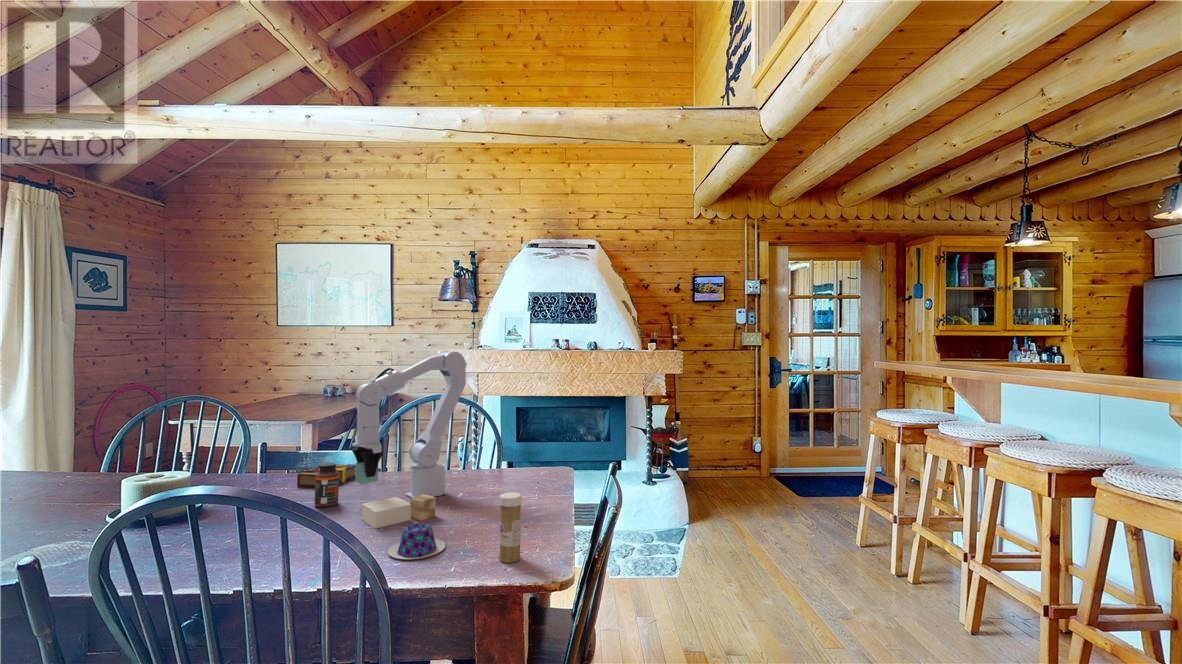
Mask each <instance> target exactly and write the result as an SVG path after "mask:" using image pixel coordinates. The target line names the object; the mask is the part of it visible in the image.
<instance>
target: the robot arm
mask: <svg viewBox="0 0 1182 664" xmlns="http://www.w3.org/2000/svg"><path fill="white" fill-rule="evenodd" d="M467 365H468V364H467V362H466V359H465V357H464V356H463V354H462V353H460V352H459V351H441V352H439V353H435V354H433V355H430V356H429V357H426V358H425V359H423V360H421V361H419V362H417V363H415V364H413V365H411V366H410V367H408V368H406V369H404V370H402V371H398V370H393V371H392V370H391V369H389V370H388V371H386V372H385V374H384V375H382V376H380V377H378V378H376V379H375V378H373V379H371V380H370V383H363V384H361V385H360V386H358V388H357V389H356V392H355V394H354V396H355V399H356V401H357V413H356V415H357V416H356V438H355V439H354V442H352V445H351V446H352V447H357V448H353V449H352V450H351V452H352V454H353V455H354V456H355V457H354V458H355V460H356V463H360V462H364V464H365V473H366V477H373V476H375V474H376V470H377V466H378V467H379V462H380V460H381V458H382V456H383V455H384V450H382V445H381V442H380V439H379V438H380V403H381V401H382V400H383V398H387V397H388V396H390V395H393V394H394V393H396V392H398V391H399V390H402V389H404V388H405V387H406V383H407V382H408V381H410V380H413V379H415V378H417V377H419V376H421V375H424V374H425V373H428V372H430V371H439V372H440V373H441V374H442V376H443V378H444V379H445V382H446V386H445V388H444V390H443V392H442V394H441V396H440V399H439V401H438V403H437V404H436V406H435V409H434V410H433V413H432V415H431V417H430V419H429V421H428V423H427V425H426V428H425V430H424V431H423V432H422V433H421V434H419V436H418V438H417V440H416V441H415V442H413V443H412V444H411V446H410V448H409V451H408V455H409V457H410V459H411V460H412V462H411V471H410V472H411V473H410V475H411V478H410V491H409V492H405V494H404V495H405V496H408V497H409V498H414V497H417V496H420V495H429V496H433V497H434V496H435V497H439V496H443V494H444V495H446V494H447V492H446V468H445V466H444V464H443V463H441V462H440V463H439V462H438V461H439V460H440V455H441V453H440V452H441V451H440V450H441V448H442V444H443V442H442V437H443V434H444V432H445V431H446V428H447V426H448V424H449V421H450V419H451V417H452V415H453V412H454V411H455V408H456V407H457V405H458V402H459V399H460V397H461V395H462V394H463V392H464V389H465V387H466V383H467V377H466V376H467V375H466V374H467V373H466V368H467Z"/></svg>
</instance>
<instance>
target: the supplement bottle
mask: <svg viewBox="0 0 1182 664" xmlns="http://www.w3.org/2000/svg"><path fill="white" fill-rule="evenodd" d="M336 464H337V463H335V462H325V463H324V462H323V463H321V464H319V466H320V471H319V472H318V473H317V474H316V479H315V487H314V506H315V507H319V508H328V507H332V506H335V505H337V504H338V503H339V492H340V491H339V485H340V483H339V472H338V471H337V470H336V469H335V468H336Z"/></svg>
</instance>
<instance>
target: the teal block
mask: <svg viewBox="0 0 1182 664" xmlns="http://www.w3.org/2000/svg"><path fill="white" fill-rule="evenodd" d="M378 472H379V465H378V466H377V470H376V474H375V476H373V477H366V473H365V464H364V462H360V463H357V462H356V463H355V478H354V481H355V482H356V483H358V484H360V485H365V484H370V483H376V482H378V479H379V476H378V475H379V473H378Z"/></svg>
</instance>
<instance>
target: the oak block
mask: <svg viewBox="0 0 1182 664" xmlns="http://www.w3.org/2000/svg"><path fill="white" fill-rule="evenodd" d="M409 498H410V499H409V504H411V519H412V520H413V519H414V520H417V521H422V522H423V521H425V520H428V519H430V517H431V518H433V516H434V517H436V505H437V504H436V503H437V502H436V501H437V496H435V497H433V496H429V495H420V496H417V497H414V498H411V497H409Z"/></svg>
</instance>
